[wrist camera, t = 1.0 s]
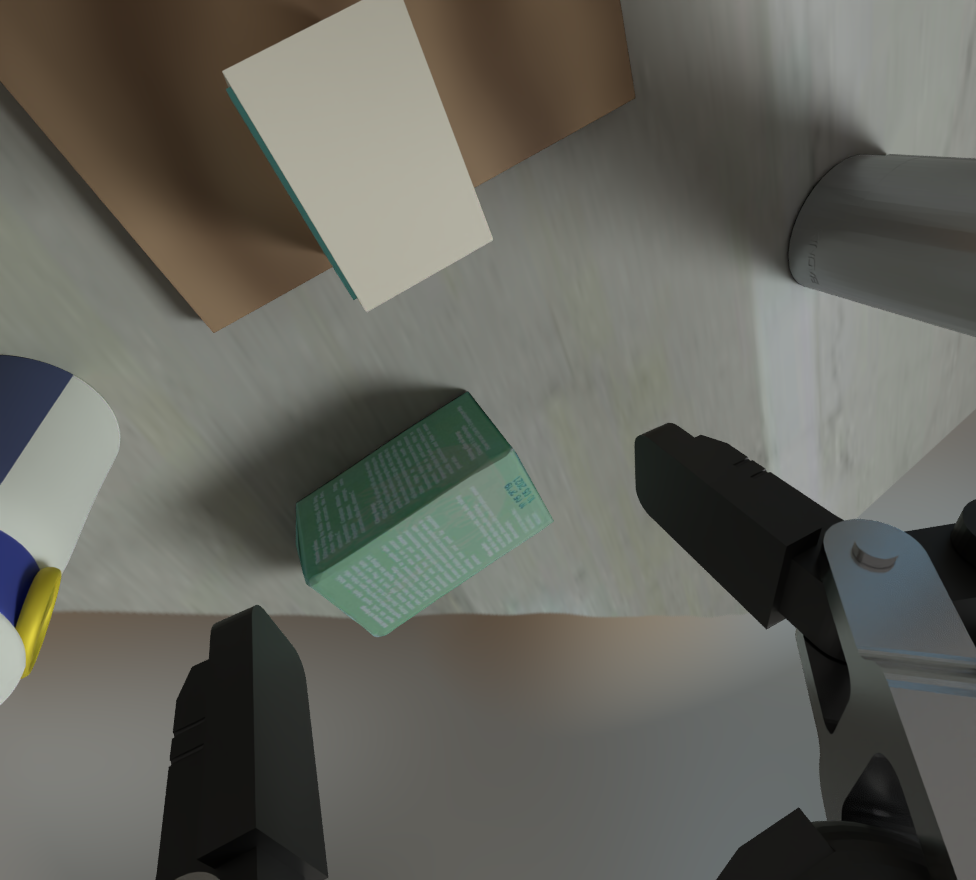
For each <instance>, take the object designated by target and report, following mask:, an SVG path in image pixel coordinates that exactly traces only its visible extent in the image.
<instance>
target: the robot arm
mask: <svg viewBox="0 0 976 880" xmlns="http://www.w3.org/2000/svg"><path fill="white" fill-rule="evenodd" d="M789 267H790V270H791V273H792V276H793V277H794V278H795V280H796V281H797V282H798V283H799V284H801V285H802V286H804V287H808V288H811V289H814V290H818V291H821V292H825V293H828V294H831V295H835V296H838V297H842V298H845V299H848V300H851V301H854V302H858V303H861V304H865V305H868V306H871V307H875V308H878V309H882V310H885V311H888V312H892V313H895V314H898V315H902V316H905V317H909V318H912V319H915V320H919V321H922V322H926V323H929V324H932V325H936V326H939V327H943V328H946V329H949V330H953V331H956V332H959V333H963V334H966V335H970V336H973V337H976V159H975V158H956V157H936V156H917V155H898V154H888V155H887V156H883V155H856V156H853V157H850V158H847V159H846V160H844V161H842V162H841V163H839V164H837V165H836V166H835V167H834V168H833V169H831V170H830V171H829V172H828V173H827V174H826V175H825V176H824V177H823V178H822V179H821V180H820V182H819V183H818V184H817V185H816V186H815V188H814V189H813V191H812V192H811V193H810V195H809V196H808V198H807V199H806V201H805V203H804V205H803V207H802V209H801V211H800V213H799V215H798V217H797V220H796V223H795V225H794V228H793V232H792V236H791V240H790V246H789ZM635 479H636V492H637V496H638V498H639V501H640V503H641V505H642V506H643V508H644V510H645V511H646V512H647V513H648V514H649V516H650V517H651V518H652V519H654V520H655V521H656V522H657V523H658V524H659V525H660V526H661V527H662V528H663V529H664V530H665V531H666V532H667V533H668V534H669V535H670V536H671V537H672V538H673V539H674V540H675V541H676V542H677V543H678V544H679V545H680V546H681V547H682V548H683V549H684V550H685V551H686V552H687V553H689V554H690V555H691V556H692V557H693V558H694V559H695V560H696V561H697V562H698V563H699V564H700V565H701V566H702V567H703V568H704V569H705V570H706V571H707V572H708V573H709V574H710V575H711V576H712V577H713V578H714V579H715V580H716V581H717V582H718V583H719V584H720V585H721V586H722V587H723V588H725V589H726V590H727V591H728V592H729V593H730V594H731V595H732V596H733V597H734V598H735V599H736V600H737V601H738V602H739V603H740V604H741V605H742V606H743V607H744V608H745V609H746V610H747V611H748V612H749V613H750V614H751V615H752V616H753V617H754V618H755V619H756V620H758V622H760V623H761V624H762V625H763V626H764V627H765V628H766V629H768V628H770V627H771V626H773V625H775V624H777V623H779V622H780V621H782V620H784V619H787V620H788V621H789V622H790V623H791V624H792V625H794V626H795V627H796V633H795V636H796V642H797V647H798V651H799V655H800V660H801V664H802V669H803V673H804V677H805V682H806V686H807V690H808V695H809V699H810V703H811V707H812V712H813V716H814V721H815V725H816V729H817V734H818V739H819V747H820V748H819V749H820V759H819V777H820V787H821V794H822V799H823V804H824V809H825V813H826V818H827V821H815V822H810V820H809V819H808V818H807V817H806V816H805V815H804V813H803V812H802V811H801V809H800V808H797V809H796V810H794V811H793V812H791V813H790V814H788V815H787V816H785V817H784V818H782V819H781V820H779V821H778V822H776V823H775V824H774V825H772V826H771V827H769V828H768V829H766V830H765V831H763V832H762V833H760V834H759V835H757V836H756V837H754V838H753V839H751V840H750V841H748V842H747V843H745V844H744V845H742V846H741V847H740V848H738V850H737V851H736V853H735V854H734V855H733V857H732V858H731V860H730V861H729V862H728V864H727V865H726V867H725V868H724V870H723V871H722V872H721V874H720V875H719V877H718V878H717V880H976V500H973V501H971V502H969V503H968V504H967V505H966V506H965V507H964V509H963V511H962V513H961V515H960V516H959V518H958V521H957V522H956V523H954V524H949V525H943V526H936V527H930V528H925V529H919V530H912V531H905V532H903V531H901V530H900V529H897V528H896V527H893V526H891V525H888V524H884V523H881V522H878V521H873V520H865V519H852V520H845V521H844V520H842V519H841V518H839V517H837V516H836V515H834V514H832V513H831V512H829V511H828V510H826V509H825V508H823V507H822V506H820V505H819V504H817V503H816V502H814V501H813V500H811V499H810V498H808V497H807V496H805V495H804V494H802V493H801V492H799V491H798V490H796V489H795V488H793V487H792V486H790V485H789V484H787V483H786V482H784V481H783V480H781V479H780V478H778V477H777V476H775V475H774V474H772V473H771V472H769V473H768V472H767V471H766V469H765V468H763V467H762V466H760V465H759V464H757V463H756V462H754V461H753V460H752V461H750V460H749V459H748V457H747V456H745V455H744V454H742V453H741V452H739V451H738V450H736V449H735V448H733V447H732V446H730V445H729V444H727V443H725V442H722V441H719V440H716V439H712V438H709V437H706V436H703V435H699V436H697V437H695V438H694V437H693V436H692V435H690V434H689V433H687V432H686V431H684V430H683V429H682V428H680V427H679V426H677V425H676V424H673V423H666V424H664V425H662V426H660V427H657V428H655V429H653V430H651V431H648V432H646V433H644V434H642V435H639V436H638V437H637V438H636V439H635ZM173 733H174V738H173V739H172V744H171V752H170V761H171V766H170V767H169V770H168V779H167V787H166V796H165V805H164V814H163V822H162V831H161V840H160V849H159V858H158V866H157V875H156V880H325V879H326V878H328V870H327V861H326V852H325V843H324V835H323V825H322V817H321V808H320V799H319V790H318V781H317V772H316V764H315V755H314V746H313V737H312V728H311V720H310V710H309V702H308V693H307V684H306V677H305V672H304V669H303V665H302V663H301V660H300V658H299V655H298V653H297V652H296V650H295V648H294V647H293V646H292V644H291V643H290V642H289V641H288V639H287V638H286V637H285V636H284V634H283V633H282V632H281V631H280V629H279V628H278V627H277V625H276V624H275V623H274V622H273V621H272V619H271V618H270V617H269V615H268V614H267V613H266V612H265V610H264V609H263V608H262V607H261V606H259V605H255V606H253V607H251V608H249V609H246V610H244V611H242V612H240V613H237V614H235V615H233V616H231V617H228V618H226V619H224V620H222V621H219V622H217V623H215V624H214V625H213V627H212V629H211V635H210V651H209V659H208V660H206V661H204V662H202V663H199V664H197V665H195V666H193V667H192V668H191V670H190V672H189V674H188V677H187V679H186V681H185V683H184V685H183V687H182V689H181V691H180V694H179V696H178V698H177V700H176V709H175V718H174V727H173Z"/></svg>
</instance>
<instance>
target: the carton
mask: <svg viewBox="0 0 976 880" xmlns="http://www.w3.org/2000/svg"><path fill="white" fill-rule="evenodd" d="M222 72H223V75H224V78H225V80H226V83H227V86H228V88H227V89H226V91H227V93H228V95H229V97H230V99H231V101H232V102H233V104H234V106H235V107H236V109H237V110H238V112H239V114H240V115H241V117H242V119H243V120H244V122H245V124H246V125H247V127H248V129H249V130H250V132H251V133H252V135H253V137H254V138H255V140H256V142H257V143H258V145H259V147H260V148H261V150H262V152H263V153H264V155H265V157H266V158H267V160H268V161H269V163H270V165H271V166H272V168H273V170H274V171H275V173H276V175H277V176H278V178H279V180H280V181H281V183H282V184H283V186H284V188H285V189H286V191H287V193H288V194H289V196H290V198H291V199H292V201H293V203H294V204H295V206H296V208H297V209H298V211H299V212H300V214H301V216H302V217H303V219H304V221H305V222H306V224H307V226H308V227H309V229H310V231H311V232H312V234H313V235H314V237H315V239H316V240H317V242H318V244H319V245H320V247H321V249H322V250H323V252H324V254H325V255H326V257H327V258H328V260H329V262H330V263H331V265H332V266H333V268H334V270H335V271H336V273H337V274H338V276H339V278H340V279H341V281H342V282H343V284H344V286H345V287H346V289H347V290H348V292H349V293H350V295H351V297H352V298H353V300H355V299H356V298H357V299H358V300H359V302H360V303H361V305H362V306H363V308H364V309H365V311H366V312H368V311H370V310H371V309H373V308H375V307H377V306H379V305H380V304H382V303H384V302H386V301H387V300H389V299H391V298H393V297H394V296H396V295H398V294H400V293H401V292H403V291H405V290H407V289H408V288H410V287H412V286H414V285H415V284H417V283H419V282H421V281H422V280H424V279H426V278H428V277H429V276H431V275H433V274H435V273H436V272H438V271H440V270H442V269H443V268H445V267H447V266H449V265H450V264H452V263H454V262H456V261H457V260H459V259H461V258H463V257H464V256H466V255H468V254H470V253H471V252H473V251H475V250H477V249H478V248H480V247H482V246H484V245H485V244H487V243H489V242H491V241H492V240H493V237H492V235H491V232H490V229H489V227H488V224H487V221H486V219H485V216H484V213H483V211H482V208H481V205H480V203H479V200H478V197H477V195H476V192H475V189H474V187H473V184H472V181H471V179H470V176H469V173H468V171H467V168H466V165H465V163H464V160H463V158H462V155H461V152H460V150H459V147H458V144H457V142H456V139H455V136H454V134H453V131H452V128H451V126H450V123H449V120H448V118H447V115H446V112H445V110H444V107H443V104H442V102H441V99H440V96H439V94H438V91H437V88H436V86H435V83H434V80H433V78H432V75H431V72H430V70H429V67H428V64H427V62H426V59H425V56H424V54H423V51H422V48H421V46H420V43H419V40H418V38H417V35H416V32H415V30H414V27H413V24H412V22H411V19H410V16H409V14H408V11H407V8H406V6H405V3H404V0H361V1H359V2H357V3H355V4H353V5H352V6H350V7H348V8H346V9H344V10H342V11H340V12H338V13H336V14H334V15H332V16H330V17H328V18H326V19H324V20H322V21H320V22H318V23H316V24H314V25H312V26H310V27H308V28H306V29H304V30H302V31H300V32H298V33H296V34H294V35H292V36H290V37H288V38H286V39H284V40H283V41H281V42H279V43H277V44H275V45H273V46H271V47H269V48H267V49H265V50H263V51H261V52H259V53H257V54H255V55H253V56H251V57H249V58H247V59H245V60H243V61H241V62H239V63H237V64H235V65H233V66H231V67H229V68H227V69H225V70H223V71H222Z"/></svg>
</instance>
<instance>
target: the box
mask: <svg viewBox="0 0 976 880" xmlns="http://www.w3.org/2000/svg"><path fill="white" fill-rule="evenodd" d="M552 522H554V520H553V519H552V517H551V515H550V513H549V511H548V510H547V508H546V506H545V504H544V502H543V501H542V499H541V497H540V495H539V493H538V492H537V490H536V488H535V486H534V484H533V483H532V481H531V479H530V477H529V475H528V474H527V472H526V470H525V468H524V466H523V465H522V463H521V461H520V459H519V457H518V455H517V453H516V452H515V451H514V449H513V448H512V447H511V445H510V444H509V443H508V442H507V441H506V439H505V438H504V437H503V435H502V434H501V433H500V432H499V430H498V429H497V428H496V426H495V425H494V424H493V423H492V421H491V420H490V419H489V417H488V416H487V415H486V414H485V412H484V411H483V410H482V408H481V407H480V406H479V405H478V403H477V402H476V401H475V399H474V398H473V397H472V396H471V394H470V393H469V392H468V391H467V392H466V393H464V394H463V395H461V396H460V397H458V398H456V399H455V400H453V401H452V402H450V403H448V404H447V405H445V406H444V407H442V408H440V409H439V410H437V411H436V412H434V413H432V414H431V415H429V416H428V417H426V418H425V419H423V420H421V421H420V422H418V423H417V424H415V425H414V426H412V427H410V428H409V429H407V430H406V431H404V432H403V433H401V434H400V435H398V436H397V437H395V438H394V439H392V440H391V441H389V442H388V443H386V444H385V445H383V446H382V447H380V448H379V449H377V450H376V451H374V452H373V453H371V454H370V455H369V456H367V457H366V458H364V459H363V460H361V461H360V462H358V463H357V464H355V465H354V466H352V467H351V468H349V469H348V470H346V471H345V472H343V473H342V474H340V475H339V476H337V477H336V478H334V479H333V480H331V481H330V482H328V483H327V484H325V485H324V486H322V487H320V488H319V489H317V490H316V491H314V492H313V493H311V494H310V495H308V496H307V497H305V498H304V499H302V500H301V501H299V502H297V503H296V547H297V551H298V555H299V559H300V563H301V567H302V571H303V575H304V578H305V581H306V584H307V585H308V586H310V587H311V588H313V589H314V590H315V591H317V592H318V593H319V594H321V595H322V596H323V597H325V598H326V599H327V600H329V601H330V602H331V603H332V604H334V605H335V606H336V607H338V608H339V609H340V610H341V611H343V612H344V613H345V614H347V615H348V616H349V617H350V618H352V619H353V620H354V621H356V622H357V623H358V624H360V625H361V626H362V627H364V628H365V629H366V630H367V631H368V632H369V633H371V634H372V635H373V636H375V637H380V636H384V635H387V634H388V633H390V632H391V631H392V630H394V629H395V628H396V627H398V626H399V625H401V624H402V623H404V622H405V621H407V620H408V619H410V618H411V617H413V616H414V615H416V614H417V613H419V612H420V611H421V610H423V609H424V608H426V607H427V606H429V605H430V604H432V603H433V602H435V601H436V600H437V599H439V598H440V597H442V596H443V595H445V594H446V593H448V592H449V591H451V590H452V589H454V588H455V587H457V586H458V585H460V584H461V583H463V582H464V581H466V580H467V579H469V578H470V577H472V576H473V575H475V574H476V573H478V572H479V571H481V570H482V569H484V568H485V567H487V566H488V565H490V564H491V563H493V562H494V561H496V560H497V559H499V558H500V557H502V556H503V555H505V554H506V553H508V552H509V551H511V550H512V549H514V548H515V547H517V546H518V545H520V544H521V543H523V542H524V541H526V540H528V539H529V538H531V537H532V536H534V535H535V534H537V533H538V532H540V531H541V530H543V529H544V528H545V527H547V526H548V525H550V524H551V523H552Z"/></svg>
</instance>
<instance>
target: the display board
mask: <svg viewBox="0 0 976 880" xmlns="http://www.w3.org/2000/svg"><path fill="white" fill-rule="evenodd" d="M359 1H361V0H0V81H1V82H2V83H3V85H4V86H5V87H6V88H7V89H8V91H9V92H10V93H11V94H12V95H13V97H14V98H15V99H16V100H17V101H18V102H19V104H20V105H21V106H22V107H23V108H24V110H25V111H26V112H27V113H28V114H29V115H30V117H31V118H32V119H33V120H34V121H35V123H36V124H37V125H38V126H39V127H40V128H41V130H42V131H43V132H44V133H45V134H46V136H47V137H48V138H49V139H50V140H51V141H52V143H53V144H54V145H55V146H56V147H57V149H58V150H59V151H60V152H61V153H62V154H63V156H64V157H65V158H66V159H67V160H68V162H69V163H70V164H71V165H72V166H73V167H74V169H75V170H76V171H77V172H78V173H79V175H80V176H81V177H82V178H83V179H84V180H85V182H86V183H87V184H88V185H89V186H90V188H91V189H92V190H93V191H94V192H95V193H96V195H97V196H98V197H99V198H100V199H101V201H102V202H103V203H104V204H105V205H106V206H107V208H108V209H109V210H110V211H111V212H112V214H113V215H114V216H115V217H116V218H117V219H118V221H119V222H120V223H121V224H122V225H123V227H124V228H125V229H126V230H127V231H128V232H129V234H130V235H131V236H132V237H133V238H134V240H135V241H136V242H137V243H138V244H139V245H140V247H141V248H142V249H143V250H144V251H145V253H146V254H147V255H148V256H149V257H150V258H151V260H152V261H153V262H154V263H155V264H156V266H157V267H158V268H159V269H160V270H161V271H162V273H163V274H164V275H165V276H166V277H167V279H168V280H169V281H170V282H171V283H172V284H173V286H174V287H175V288H176V289H177V290H178V292H179V293H180V294H181V295H182V296H183V297H184V299H185V300H186V301H187V302H188V303H189V305H190V306H191V307H192V308H193V309H194V310H195V312H196V313H197V314H198V315H199V316H200V318H201V319H202V320H203V321H204V322H205V323H206V325H207V326H208V327H209V328H210V329H211V331H212V332H213V333H215V332H217V331H219V330H220V329H222V328H224V327H226V326H227V325H229V324H231V323H233V322H235V321H236V320H238V319H240V318H242V317H244V316H245V315H247V314H249V313H251V312H253V311H254V310H256V309H258V308H260V307H262V306H263V305H265V304H267V303H269V302H271V301H272V300H274V299H276V298H278V297H279V296H281V295H283V294H285V293H287V292H288V291H290V290H292V289H294V288H296V287H297V286H299V285H301V284H303V283H305V282H306V281H308V280H310V279H312V278H314V277H315V276H317V275H319V274H321V273H323V272H324V271H326V270H328V269H330V268H331V267H333V266H332V265H331V263H330V262H329V260H328V258H327V257H326V255H325V254H324V252H323V250H322V249H321V247H320V245H319V244H318V242H317V240H316V239H315V237H314V235H313V234H312V232H311V231H310V229H309V227H308V226H307V224H306V222H305V221H304V219H303V217H302V216H301V214H300V212H299V211H298V209H297V208H296V206H295V204H294V203H293V201H292V199H291V198H290V196H289V194H288V193H287V191H286V189H285V188H284V186H283V184H282V183H281V181H280V180H279V178H278V176H277V175H276V173H275V171H274V170H273V168H272V166H271V165H270V163H269V161H268V160H267V158H266V157H265V155H264V153H263V152H262V150H261V148H260V147H259V145H258V143H257V142H256V140H255V138H254V137H253V135H252V133H251V132H250V130H249V129H248V127H247V125H246V124H245V122H244V120H243V119H242V117H241V115H240V114H239V112H238V110H237V109H236V107H235V106H234V104H233V102H232V101H231V99H230V97H229V95H228V93H227V91H226V89H227V88H228V86H227V83H226V80H225V78H224V75H223V72H222V71H223V70H225V69H227V68H229V67H231V66H233V65H235V64H237V63H239V62H241V61H243V60H245V59H247V58H249V57H251V56H253V55H255V54H257V53H259V52H261V51H263V50H265V49H267V48H269V47H271V46H273V45H275V44H277V43H279V42H281V41H283V40H284V39H286V38H288V37H290V36H292V35H294V34H296V33H298V32H300V31H302V30H304V29H306V28H308V27H310V26H312V25H314V24H316V23H318V22H320V21H322V20H324V19H326V18H328V17H330V16H332V15H334V14H336V13H338V12H340V11H342V10H344V9H346V8H348V7H350V6H352V5H353V4H355V3H357V2H359ZM404 3H405V6H406V8H407V11H408V14H409V16H410V19H411V22H412V24H413V27H414V30H415V32H416V35H417V38H418V40H419V43H420V46H421V48H422V51H423V54H424V56H425V59H426V62H427V64H428V67H429V70H430V72H431V75H432V78H433V80H434V83H435V86H436V88H437V91H438V94H439V96H440V99H441V102H442V104H443V107H444V110H445V112H446V115H447V118H448V120H449V123H450V126H451V128H452V131H453V134H454V136H455V139H456V142H457V144H458V147H459V150H460V152H461V155H462V158H463V160H464V163H465V165H466V168H467V171H468V173H469V176H470V179H471V181H472V184H473V187H474V188H475V187H477V186H479V185H480V184H482V183H484V182H486V181H488V180H489V179H491V178H493V177H495V176H496V175H498V174H500V173H502V172H504V171H505V170H507V169H509V168H511V167H513V166H514V165H516V164H518V163H520V162H522V161H523V160H525V159H527V158H529V157H531V156H532V155H534V154H536V153H538V152H540V151H541V150H543V149H545V148H547V147H549V146H550V145H552V144H554V143H556V142H557V141H559V140H561V139H563V138H565V137H566V136H568V135H570V134H572V133H574V132H575V131H577V130H579V129H581V128H583V127H584V126H586V125H588V124H590V123H592V122H593V121H595V120H597V119H599V118H601V117H602V116H604V115H606V114H608V113H609V112H611V111H613V110H615V109H617V108H618V107H620V106H622V105H624V104H626V103H627V102H629V101H631V100H633V99H635V92H634V85H633V79H632V73H631V67H630V60H629V54H628V48H627V41H626V35H625V29H624V23H623V16H622V10H621V4H620V0H404Z"/></svg>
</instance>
